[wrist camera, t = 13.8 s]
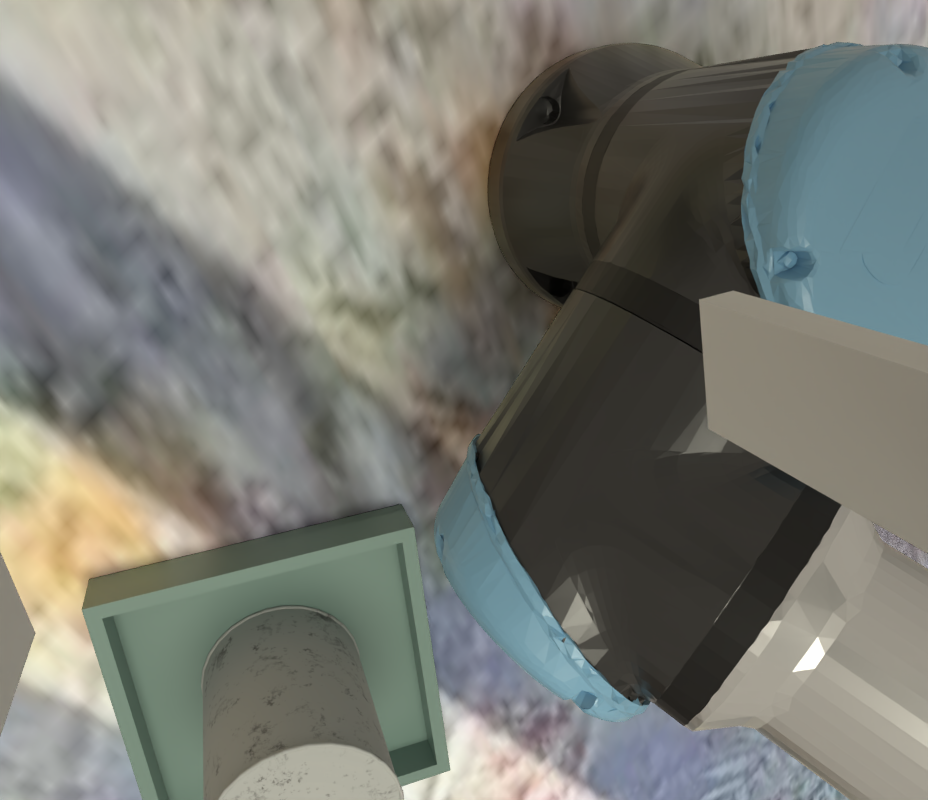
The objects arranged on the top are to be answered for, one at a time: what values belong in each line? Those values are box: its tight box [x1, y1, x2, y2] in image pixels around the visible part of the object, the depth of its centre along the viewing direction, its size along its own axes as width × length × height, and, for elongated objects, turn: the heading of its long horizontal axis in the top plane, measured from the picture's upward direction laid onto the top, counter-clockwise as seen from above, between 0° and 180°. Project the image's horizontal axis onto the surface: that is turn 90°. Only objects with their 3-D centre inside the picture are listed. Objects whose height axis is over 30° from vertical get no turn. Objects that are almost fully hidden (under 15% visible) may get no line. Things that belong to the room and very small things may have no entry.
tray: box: [82, 504, 450, 800], centre depth 49 cm, size 18×18×3 cm
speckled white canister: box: [201, 605, 404, 800], centre depth 44 cm, size 10×10×12 cm
